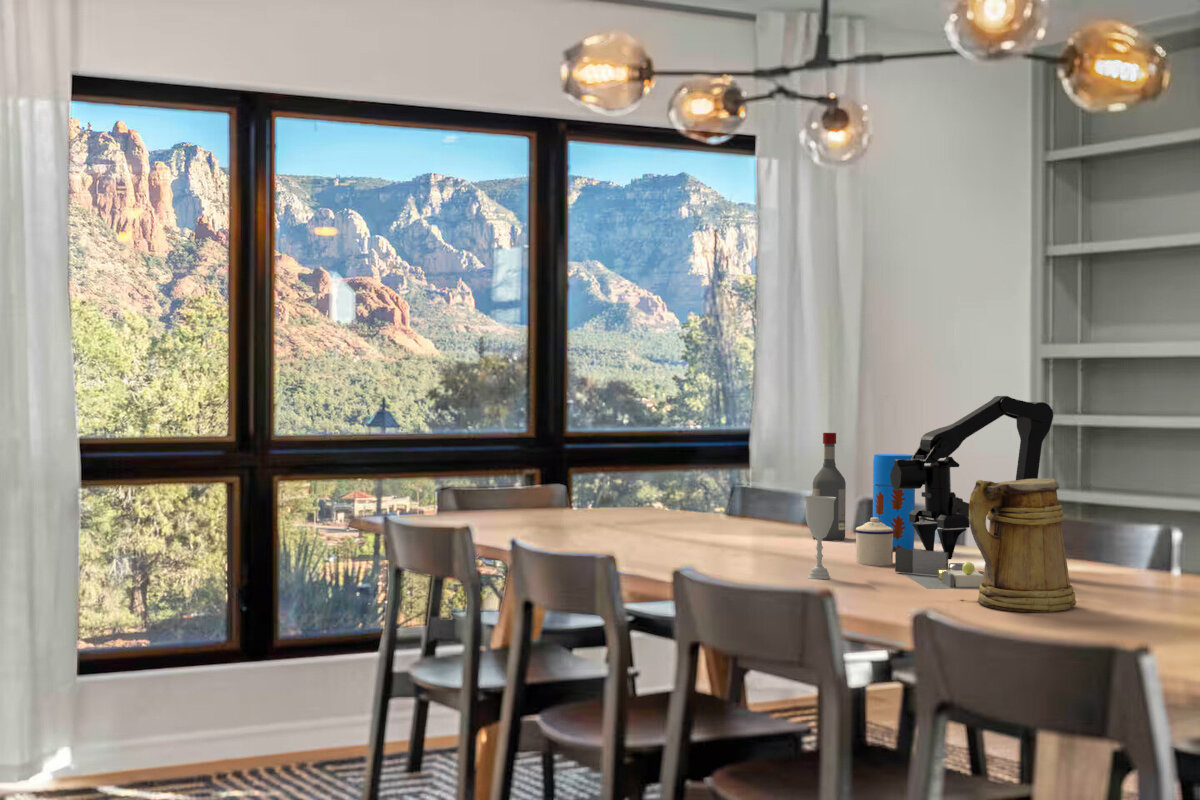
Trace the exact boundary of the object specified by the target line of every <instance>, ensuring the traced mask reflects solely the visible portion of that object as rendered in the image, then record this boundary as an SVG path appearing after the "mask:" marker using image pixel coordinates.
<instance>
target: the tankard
mask: <svg viewBox="0 0 1200 800" xmlns="http://www.w3.org/2000/svg"><path fill="white" fill-rule="evenodd" d="M1059 489H1060V484H1059V483H1058V481H1057V480H1056V479H1055V478H1038V479H1024V480H1016V479H1015V480H1008V481H1007V480H1006V481H1000V482H994V481H992V480H991V481H990V480H983V479H977V480H976V481H975V485H974V488H973V490H972V491H971V494H970V497H969V502H968V503H969V523H970V527H969V528H970V531H971V534H972V537H973V540H974V543H975V544H976V546H977V548H978V550H979V552H980V554H981V556H982V558H983V560H984V570H983V572H984V578H983V582H982V583H981V584H980V586H979V589H978V597H977V602H978V603H979V604H981V605H982V606H983V607H986V608H990V609H995V610H999V611H1006V612H1007V611H1008V612H1014V613H1015V612H1020V613H1021V612H1024V613H1047V612H1048V613H1049V612H1059V611H1065V610H1069V609H1070V608H1073V607H1074V606H1076V605H1077V601H1076V594H1075V591H1074V590H1075V589H1074V586H1073V585H1072V584H1071V582H1070V576H1069V575H1070V574H1069V569H1068V568H1069V567H1068V562H1067V561H1068V560H1067V556H1066V549H1065V543H1064V541H1065V540H1064V536H1063V535H1064V534H1063V527H1062V522H1063V521H1064V520H1065V516H1064V511H1063V509H1062V508H1063V506H1062V504H1059V499H1058V491H1057V490H1059ZM987 520H989V526H988V527H989V528H987V524H986V523H987Z"/></svg>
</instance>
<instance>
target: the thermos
mask: <svg viewBox="0 0 1200 800" xmlns="http://www.w3.org/2000/svg"><path fill="white" fill-rule="evenodd" d="M913 455H914V454H906V453H905V454H904V453H902V454H900V453H877V454H876V453H874V454H873V459H872V460H873V461H872V462H873V463H872V465H873V466H872V472H873V473H872V484H873V485H872V518H879V522H881V523H883V524H885V525H886V526H888V527H891V528H893V531H894V533H893V552H895V549H897V548H903V549H914V548H915V534H916V533H915V532H916V530H915V528H914V526H912V524H915V523H913V522H909V513H910V512H911V511H912V510H916V509H915V508H916V501H915V500H916V489H900V490H895V489H894V488H893V486H892V484H891V480H890V473H891V470H892V467H893V466H894V460H895V459H902V460H911V458H912V457H913Z"/></svg>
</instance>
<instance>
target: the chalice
mask: <svg viewBox="0 0 1200 800" xmlns="http://www.w3.org/2000/svg"><path fill="white" fill-rule="evenodd" d="M803 499H804V502H805V521H806V524H807V526H808V527H807V528H808V529H809V531H810V533H811V535H812V536H813V537H814V538H816V539H817V540H816V546H815V549H816V551H817V552H816V554H815V557H816V564H815V566H812V568H811V569H810V571H809V574H808V576H807V578H809V579H812V580H813V579H814V580H827V579H828V580H829V579H831V576H830V573H829V570H828V569H827V568H826V567H825V566H823V564H822V563H823V561H822V559H823V558H824V555H823V553H822V551H823V549H824V547H823V544H822V542H823V540H822V539H823V538H825V537H826V536H827V534H828V532H829V530H830V528H831V525H832V523H833V520H834V501H835V499H836V497H828V496H813V495H810V496H807V495H806V496H803ZM813 537H812V538H813Z"/></svg>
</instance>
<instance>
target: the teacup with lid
mask: <svg viewBox="0 0 1200 800" xmlns="http://www.w3.org/2000/svg"><path fill="white" fill-rule="evenodd" d="M854 532H855V564H858V565H862V566H875V567H877V566H881V567H882V566H884V567H885V566H892V565H893V564H894V562H893V561H894V551H893V533H894V531H893V528H891V527H888V526H886V525H885V524H883V523H881V522H879V518H873V517H870V521H867V522H866V523H863V525H860V526H857V527H856V528H855V530H854Z"/></svg>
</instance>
